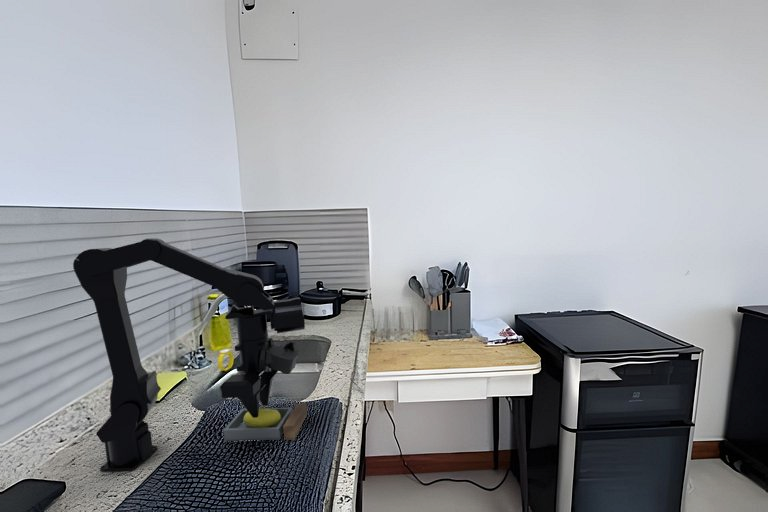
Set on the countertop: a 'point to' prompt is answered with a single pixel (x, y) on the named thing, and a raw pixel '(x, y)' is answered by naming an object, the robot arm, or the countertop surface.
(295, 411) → the rail
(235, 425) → the tray
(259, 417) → the lemon
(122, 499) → the countertop surface
